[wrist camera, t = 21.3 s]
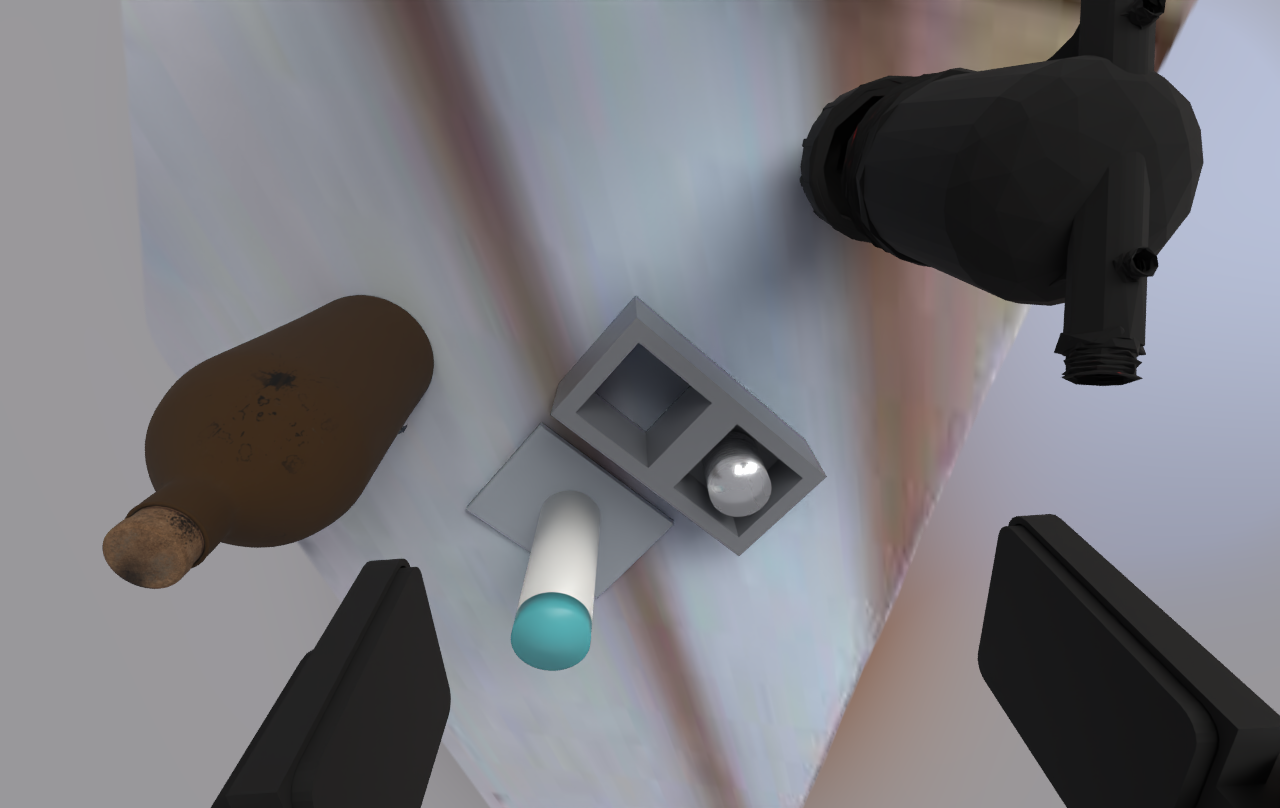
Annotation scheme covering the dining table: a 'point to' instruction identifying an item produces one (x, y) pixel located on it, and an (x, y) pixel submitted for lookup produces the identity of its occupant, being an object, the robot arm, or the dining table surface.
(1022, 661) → the robot arm
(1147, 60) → the filter
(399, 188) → the dining table surface
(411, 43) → the dining table surface
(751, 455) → the silver metallic cylinder
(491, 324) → the dining table surface
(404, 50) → the dining table surface
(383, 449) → the olive oil
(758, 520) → the housing
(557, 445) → the mat
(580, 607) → the cylinder
